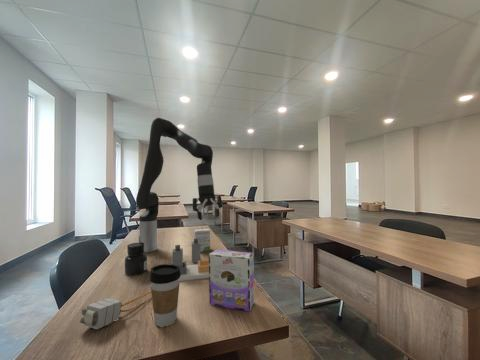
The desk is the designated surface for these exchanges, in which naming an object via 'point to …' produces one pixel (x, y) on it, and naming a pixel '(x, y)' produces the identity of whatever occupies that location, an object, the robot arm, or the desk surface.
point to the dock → (189, 266)
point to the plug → (195, 250)
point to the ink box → (203, 239)
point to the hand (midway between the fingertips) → (208, 218)
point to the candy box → (231, 279)
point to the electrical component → (104, 312)
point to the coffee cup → (165, 293)
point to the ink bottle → (135, 259)
